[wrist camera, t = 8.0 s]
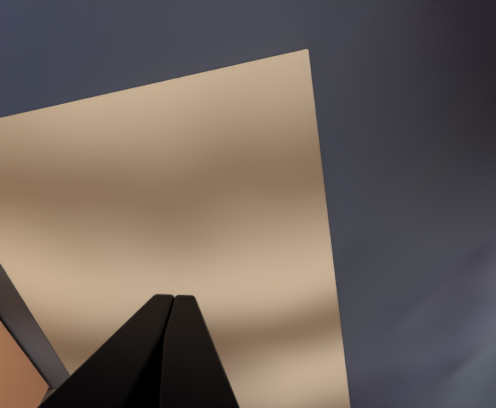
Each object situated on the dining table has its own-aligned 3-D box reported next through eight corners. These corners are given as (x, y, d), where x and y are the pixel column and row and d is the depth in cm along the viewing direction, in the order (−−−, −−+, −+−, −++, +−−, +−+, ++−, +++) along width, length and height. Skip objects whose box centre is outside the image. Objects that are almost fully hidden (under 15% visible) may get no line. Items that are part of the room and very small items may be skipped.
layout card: (350, 423, 17) (353, 433, 16) (-104, 507, 17) (-112, 518, 17) (305, 49, 9) (308, 49, 9) (-460, 221, 10) (-489, 228, 10)
